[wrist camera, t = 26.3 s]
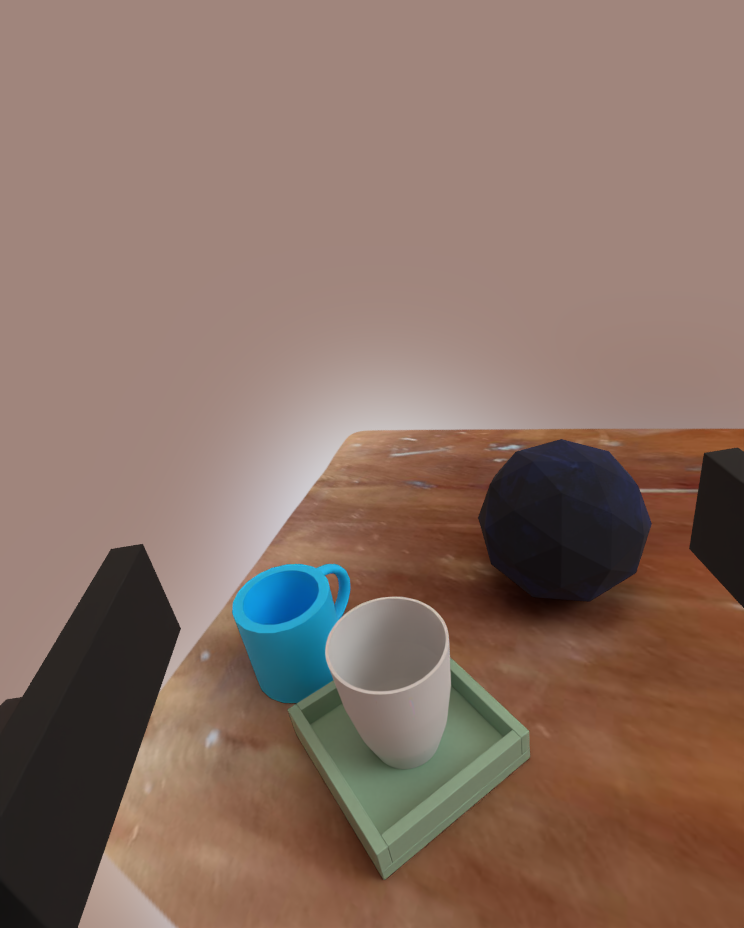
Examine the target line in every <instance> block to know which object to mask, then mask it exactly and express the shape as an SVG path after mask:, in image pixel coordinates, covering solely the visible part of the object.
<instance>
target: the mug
mask: <svg viewBox="0 0 744 928" xmlns="http://www.w3.org/2000/svg"><path fill="white" fill-rule="evenodd" d="M330 573H334V574H335V575H336V576H337V578H338V582H339V590H338V596H337V599H336V602H335V605H334V602H333V598H332V595H331V591H330V587H329V583H328V579H327V578H326V577H325V575H327V574H330ZM349 594H350V578H349V576H348V574H347V572H346V570H345V569H344V568H342V567H341V566H339V565H337V564H325V565H322V566H320V567H317V568H314V567H312V566H308V565H303V564H287V565H282V566H278V567H274V568H271V569H269V570H267V571H264V572H262V573H260V574H258V575H257V576H255V577H254V578H252V579H251V580H249V581H248V582H247V583H246V584H245V585H244V586H243V587H242V588H241V589H240V590H239V592H238V593H237V595H236V597H235V599H234V601H233V610H232V613H233V616H234V619H235V621H236V624H237V627H238V629H239V632H240V635H241V637H242V640H243V643H244V645H245V648H246V651H247V653H248V656H249V659H250V661H251V664H252V667H253V669H254V672H255V675H256V677H257V680H258V682H259V685H260V687H261V689H262V691H263V692H264V693H265V694H266V695H267V696H269V697H270V698H271V699H274V700H276V701H279V702H282V703H298V702H300V701H301V700H303V699H305V698H306V697H308V696H309V695H311V694H313V693H314V692H316V691H317V690H319V689H320V688H322V687H324V686H325V685H327V684H328V683H330V682H332V681H333V677H332V675H331V672H330V669H329V667H328V664H327V661H326V655H325V648H326V642H327V639H328V636H329V634H330V632H331V630H332V628H333V627H334V625H335V624H336V623H337V621H338V620H339V619H340V618H341V617H342V615H343V613H344V611H345V608H346V606H347V603H348V600H349Z"/></svg>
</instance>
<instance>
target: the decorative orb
mask: <svg viewBox="0 0 744 928" xmlns="http://www.w3.org/2000/svg"><path fill="white" fill-rule="evenodd" d="M478 519H479V522H480V526H481V529H482V533H483V536H484V540H485V544H486V547H487V551H488V554H489V558H490V561H491V564H492V565H493V566H494V567H496V568H497V569H498V570H499V571H501V572H502V573H503V574H505V575H506V576H507V577H508V578H510V579H511V580H512V581H513V582H515V583H516V584H517V585H518V586H520V587H521V588H522V589H523V590H525V591H526V592H527V593H528V594H530V595H531V596H532V597H538V598H550V599H563V600H576V601H591V600H593V599H594V598H596V597H598V596H599V595H601V594H602V593H604V592H606V591H607V590H609V589H611V588H612V587H614V586H615V585H617V584H619V583H620V582H622V581H624V580H625V579H627V578H628V577H630V576H632V575H633V574H635V573H636V571H637V568H638V565H639V562H640V559H641V556H642V552H643V549H644V546H645V543H646V540H647V537H648V533H649V530H650V527H651V524H652V523H651V521H650V518H649V515H648V512H647V509H646V506H645V504H644V501H643V498H642V495H641V492H640V490H639V487H638V485H637V484H636V482H635V481H634V480H633V478H632V477H631V476H630V475H629V473H628V472H627V471H626V470H625V469H624V468H623V467H622V466H621V465H620V463H619V462H618V461H617V460H616V459H615V458H614V457H613V456H612V455H611V453H610V452H609V451H605V450H601V449H597V448H593V447H589V446H586V445H582V444H578V443H574V442H570V441H566V440H562V439H560V440H557V441H553V442H550V443H546V444H542V445H539V446H535V447H531V448H528V449H524V450H521V451H517V452H515V453H514V455H513V456H512V457H511V458H510V459H509V460H508V461H507V463H506V464H505V465H504V466H503V467H502V468H501V469H500V470H499V472H498V473H497V474H496V475H495V477H494V478H493V480H492V482H491V484H490V486H489V489H488V492H487V494H486V497H485V500H484V503H483V506H482V508H481V511H480V514H479V517H478Z"/></svg>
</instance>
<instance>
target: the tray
mask: <svg viewBox="0 0 744 928" xmlns="http://www.w3.org/2000/svg"><path fill="white" fill-rule="evenodd" d="M450 673H451V689H450V698H449V707H448V716H447V723H446V726H445V729H444V732H443V735H442V738H441V740H440V743H439V746H438V748H437V750H436V752H435V754H434V755H433V756H432V758H431V759H430V760H428V761H427V762H426V763H424V764H423V765H421V766H418V767H416V768H412V769H397V768H394V767H391V766H389V765H387V764H386V763H384V762H383V761H382V760H381V759H380V758H379V757H378V756H377V755H376V754H375V753H374V752H373V751H372V750H371V749H370V748H369V747H368V746H367V745H366V743H365V742H364V741H363V739H362V738H361V736H360V734H359V733H358V731H357V729H356V727H355V726H354V724H353V722H352V721H351V719H350V717H349V715H348V714H347V712H346V710H345V708H344V706H343V703H342V701H341V698H340V696H339V693H338V690H337V688H336V685H335V682H334V680H333V681H332V682H330V683H328V684H327V685H325V686H324V687H322V688H320V689H319V690H317V691H316V692H314V693H313V694H311V695H309V696H308V697H306V698H305V699H303V700H301V701H300V702H298V703H297V704H295V705H294V706H292V707H290V708H289V709H288V713H289V715H290V718H291V721H292V724H293V726H294V730H295V732H296V735H297V736H298V738H299V740H300V741H301V743H302V745H303V746H304V748H305V750H306V751H307V753H308V755H309V756H310V758H311V760H312V761H313V763H314V765H315V766H316V768H317V770H318V771H319V773H320V775H321V776H322V778H323V780H324V781H325V783H326V785H327V786H328V788H329V790H330V791H331V793H332V795H333V796H334V798H335V800H336V801H337V803H338V805H339V806H340V808H341V810H342V811H343V813H344V815H345V816H346V818H347V820H348V821H349V823H350V825H351V826H352V828H353V830H354V831H355V833H356V835H357V836H358V838H359V840H360V841H361V843H362V845H363V846H364V848H365V850H366V851H367V853H368V855H369V856H370V858H371V860H372V861H373V863H374V865H375V866H376V868H377V870H378V871H379V873H380V875H381V876H382V878H383V880H385V879H386V878H388V877H389V876H390V875H391V874H392V873H394V872H395V871H396V870H397V869H398V868H399V867H401V866H402V865H403V864H404V863H405V862H407V861H408V860H409V859H410V858H411V857H413V856H414V855H415V854H416V853H417V852H418V851H420V850H421V849H422V848H423V847H424V846H426V845H427V844H428V843H429V842H430V841H431V840H433V839H434V838H435V837H436V836H437V835H439V834H440V833H441V832H442V831H443V830H445V829H446V828H447V827H448V826H449V825H450V824H452V823H453V822H454V821H455V820H456V819H458V818H459V817H460V816H461V815H462V814H464V813H465V812H466V811H467V810H468V809H469V808H471V807H472V806H473V805H474V804H475V803H477V802H478V801H479V800H480V799H481V798H482V797H484V796H485V795H486V794H487V793H488V792H490V791H491V790H492V789H493V788H494V787H496V786H497V785H498V784H499V783H500V782H501V781H503V780H504V779H505V778H506V777H507V776H509V775H510V774H511V773H512V772H513V771H515V770H516V769H517V768H518V767H519V766H520V765H522V764H523V763H524V762H525V761H526V760H528V759H529V758H530V749H529V748H530V746H529V731H528V730H527V729H526V728H525V727H524V726H523V725H522V724H521V723H520V722H519V721H518V720H517V719H516V718H514V717H513V716H512V715H511V714H510V713H509V712H508V711H507V710H506V709H505V708H504V707H503V706H502V705H501V704H500V703H498V702H497V701H496V700H495V699H494V698H493V697H492V696H491V695H490V694H489V693H488V692H487V691H486V690H485V689H483V688H482V687H481V686H480V685H479V684H478V683H477V682H476V681H475V680H474V679H473V678H472V677H471V676H470V675H469V674H467V673H466V672H465V671H464V670H463V669H462V668H461V667H460V666H459V665H458V664H457V663H456V662H455V661H454V660H453V659H451V658H450Z"/></svg>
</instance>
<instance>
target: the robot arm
mask: <svg viewBox="0 0 744 928" xmlns="http://www.w3.org/2000/svg"><path fill="white" fill-rule="evenodd" d="M689 549H690V550H691V551H692V552H693V553H694V554H695V555H696V557H697V558H698V559H699V560H700V561H701V562H702V563H703V564H704V565H705V566H706V567H707V568H708V570H709V571H710V572H711V573H712V574H713V575H714V576H715V577H716V578H717V579H718V580H719V582H720V583H721V584H722V585H723V586H724V587H725V588H726V589H727V590H728V591H729V592H730V593H731V595H732V596H733V597H734V598H735V599H736V600H737V601H738V602H739V603H740V604H741V605H742V607H743V608H744V452H743V451H742V450H741V449H739V448H732V449H726V450H720V451H714V452H708V453H704V457H703V463H702V470H701V476H700V483H699V489H698V496H697V502H696V509H695V515H694V522H693V528H692V535H691V541H690V548H689ZM180 629H181V628H180V626H179V623H178V621H177V619H176V617H175V615H174V612H173V610H172V608H171V606H170V603H169V601H168V599H167V597H166V594H165V592H164V590H163V588H162V586H161V583H160V581H159V579H158V577H157V574H156V572H155V570H154V568H153V566H152V563H151V561H150V559H149V557H148V555H147V552H146V550H145V548H144V546H143V544H140V545H133V546H127V547H121V548H115V549H111V550H110V552H109V554H108V555H107V557H106V558H105V560H104V562H103V563H102V565H101V567H100V569H99V570H98V572H97V574H96V575H95V577H94V578H93V580H92V582H91V583H90V585H89V587H88V588H87V590H86V592H85V594H84V595H83V597H82V599H81V600H80V602H79V603H78V605H77V607H76V609H75V610H74V612H73V614H72V615H71V617H70V619H69V620H68V622H67V623H66V625H65V627H64V629H63V630H62V632H61V633H60V635H59V637H58V638H57V640H56V642H55V643H54V645H53V647H52V648H51V650H50V652H49V653H48V655H47V657H46V658H45V660H44V662H43V663H42V665H41V667H40V668H39V670H38V672H37V673H36V675H35V677H34V678H33V680H32V682H31V683H30V685H29V687H28V689H27V690H26V692H25V693H24V695H23V697H20V698H13V699H7V700H5V702H3V703H2V704H1V705H0V928H78V925H79V922H80V919H81V916H82V913H83V910H84V908H85V905H86V902H87V899H88V896H89V893H90V890H91V887H92V884H93V882H94V879H95V876H96V873H97V870H98V867H99V864H100V861H101V858H102V856H103V853H104V850H105V847H106V844H107V841H108V838H109V835H110V832H111V829H112V827H113V824H114V821H115V818H116V815H117V812H118V809H119V806H120V803H121V800H122V798H123V795H124V792H125V789H126V786H127V783H128V780H129V777H130V774H131V771H132V769H133V766H134V763H135V760H136V757H137V754H138V751H139V748H140V745H141V742H142V740H143V737H144V734H145V731H146V728H147V725H148V722H149V719H150V716H151V713H152V711H153V708H154V705H155V702H156V699H157V696H158V693H159V690H160V687H161V684H162V681H163V679H164V676H165V672H166V670H167V667H168V664H169V661H170V658H171V655H172V653H173V650H174V647H175V644H176V641H177V638H178V635H179V632H180Z"/></svg>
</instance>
